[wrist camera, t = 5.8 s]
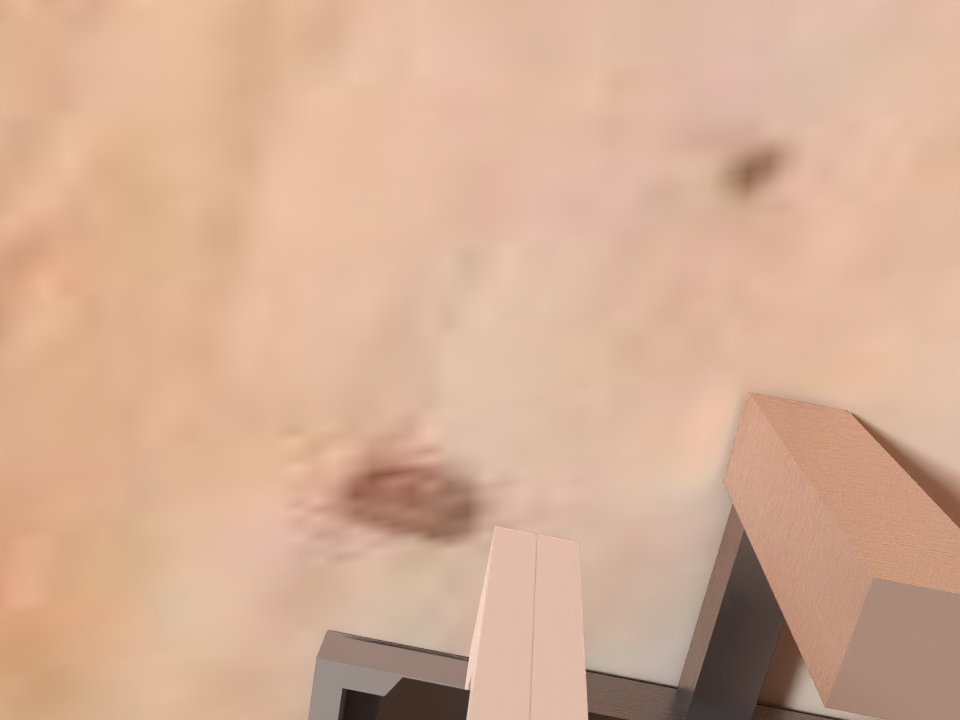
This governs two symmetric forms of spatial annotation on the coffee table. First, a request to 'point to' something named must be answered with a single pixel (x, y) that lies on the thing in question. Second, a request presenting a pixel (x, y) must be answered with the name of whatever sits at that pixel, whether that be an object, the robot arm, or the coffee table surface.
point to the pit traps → (373, 674)
